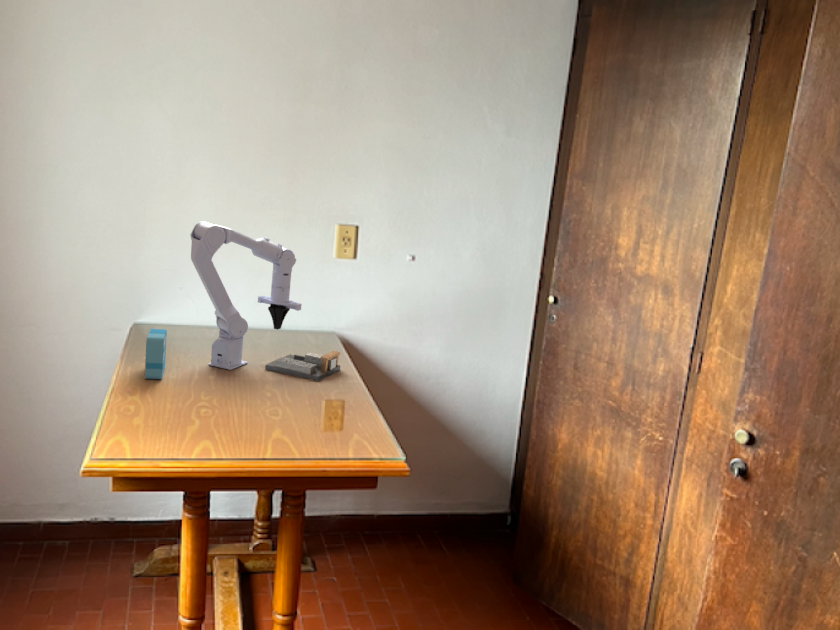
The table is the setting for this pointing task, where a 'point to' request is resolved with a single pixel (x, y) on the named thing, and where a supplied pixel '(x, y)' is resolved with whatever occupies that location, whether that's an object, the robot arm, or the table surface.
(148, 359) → the data package
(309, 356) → the bar
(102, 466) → the table surface
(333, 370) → the base
